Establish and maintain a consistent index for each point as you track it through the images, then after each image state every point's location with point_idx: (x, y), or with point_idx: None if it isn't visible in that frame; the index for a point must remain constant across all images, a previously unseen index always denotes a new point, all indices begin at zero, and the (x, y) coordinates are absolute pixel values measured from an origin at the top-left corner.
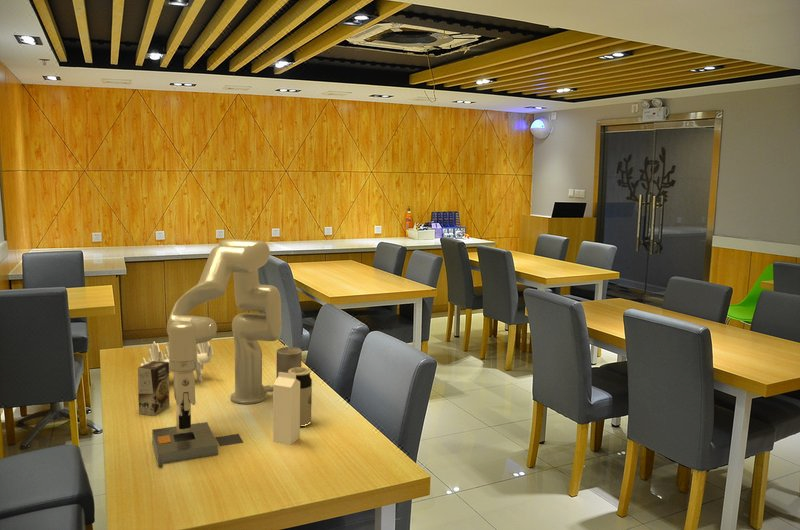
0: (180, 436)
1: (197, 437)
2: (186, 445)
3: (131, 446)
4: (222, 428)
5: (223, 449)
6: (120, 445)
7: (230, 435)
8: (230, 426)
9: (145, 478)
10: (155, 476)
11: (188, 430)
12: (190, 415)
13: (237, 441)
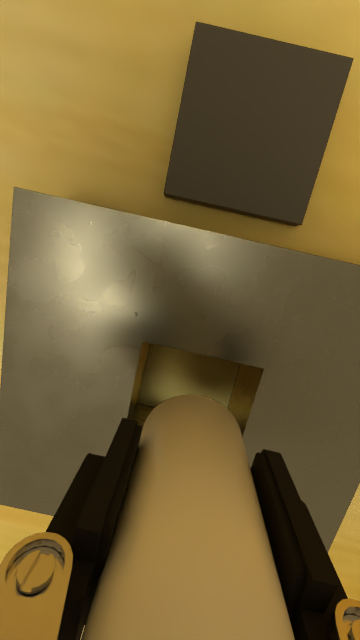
0: (132, 400)
1: (247, 350)
2: (316, 441)
3: (36, 519)
4: (13, 80)
5: (307, 207)
6: (7, 544)
7: (192, 91)
8: (3, 11)
9: (345, 563)
10: (356, 535)
11: (240, 434)
12: (332, 574)
13: (310, 90)
